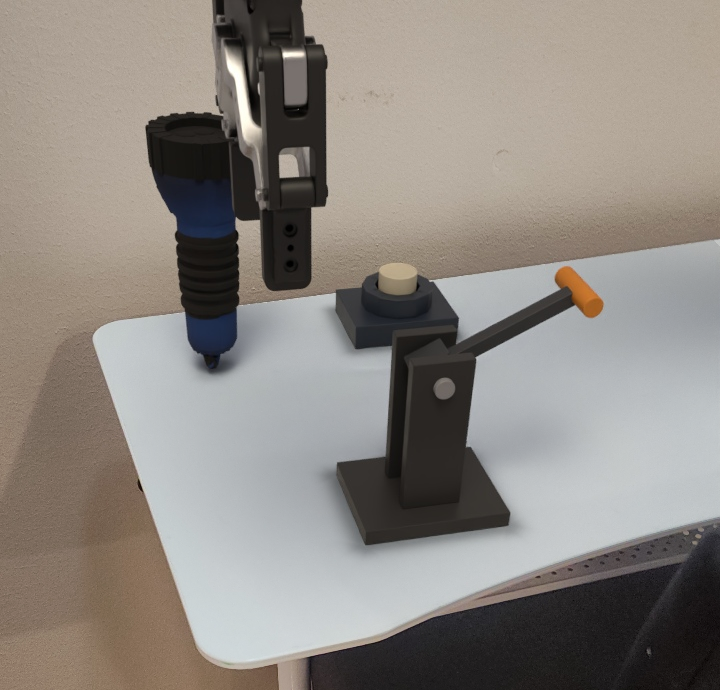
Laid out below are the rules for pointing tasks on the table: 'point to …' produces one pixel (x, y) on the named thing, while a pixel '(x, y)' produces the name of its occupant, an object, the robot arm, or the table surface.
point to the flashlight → (200, 224)
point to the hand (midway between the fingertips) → (269, 250)
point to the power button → (397, 279)
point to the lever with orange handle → (524, 318)
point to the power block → (390, 311)
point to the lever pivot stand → (424, 451)
